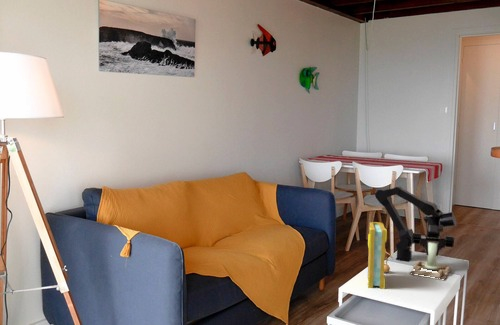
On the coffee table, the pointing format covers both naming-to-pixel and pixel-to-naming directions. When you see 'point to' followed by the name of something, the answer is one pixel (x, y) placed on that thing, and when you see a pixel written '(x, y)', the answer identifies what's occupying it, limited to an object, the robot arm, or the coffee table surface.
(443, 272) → the keyhole board
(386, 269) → the figurine
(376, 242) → the book
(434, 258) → the sage peg
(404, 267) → the coffee table surface
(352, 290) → the coffee table surface
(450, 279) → the coffee table surface
